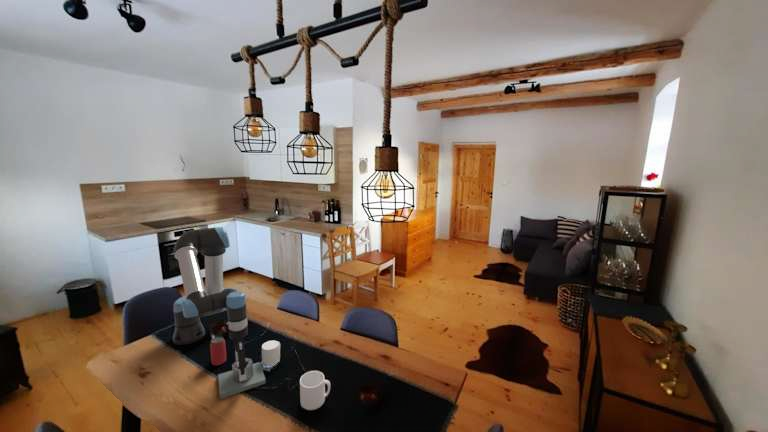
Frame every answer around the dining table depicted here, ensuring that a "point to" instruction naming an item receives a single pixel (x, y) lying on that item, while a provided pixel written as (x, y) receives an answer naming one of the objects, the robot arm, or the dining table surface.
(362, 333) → the dining table surface
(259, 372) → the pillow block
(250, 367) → the ring
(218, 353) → the beer can
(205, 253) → the robot arm
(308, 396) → the mug
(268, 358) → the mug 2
